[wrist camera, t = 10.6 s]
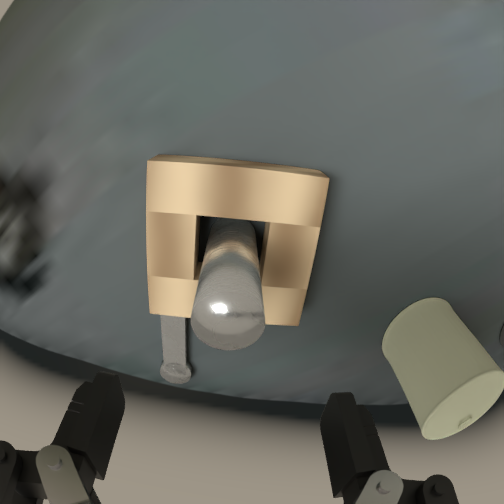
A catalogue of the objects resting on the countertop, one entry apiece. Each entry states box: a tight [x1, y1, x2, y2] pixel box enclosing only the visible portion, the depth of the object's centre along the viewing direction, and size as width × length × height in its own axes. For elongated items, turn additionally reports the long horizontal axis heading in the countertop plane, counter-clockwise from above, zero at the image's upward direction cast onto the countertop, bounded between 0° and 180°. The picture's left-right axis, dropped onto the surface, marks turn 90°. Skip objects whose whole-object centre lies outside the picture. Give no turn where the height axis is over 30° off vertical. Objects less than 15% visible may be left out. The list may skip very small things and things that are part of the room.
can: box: [382, 297, 504, 440], centre depth 25 cm, size 9×9×12 cm
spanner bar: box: [160, 315, 192, 384], centre depth 29 cm, size 11×3×1 cm, turn 173°
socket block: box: [146, 155, 330, 326], centre depth 24 cm, size 12×12×3 cm
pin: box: [191, 217, 265, 350], centre depth 20 cm, size 4×4×11 cm
